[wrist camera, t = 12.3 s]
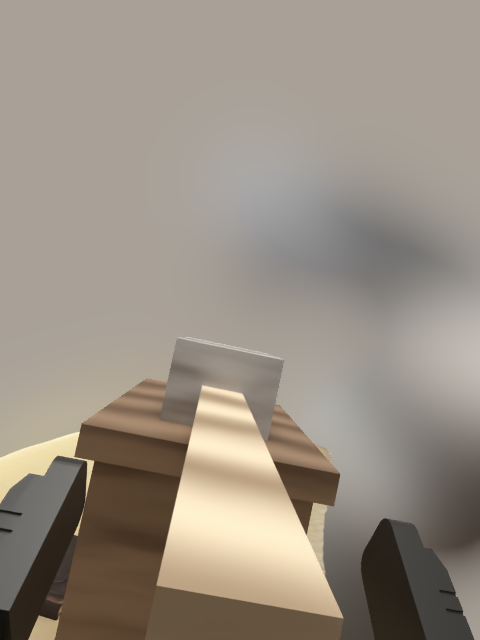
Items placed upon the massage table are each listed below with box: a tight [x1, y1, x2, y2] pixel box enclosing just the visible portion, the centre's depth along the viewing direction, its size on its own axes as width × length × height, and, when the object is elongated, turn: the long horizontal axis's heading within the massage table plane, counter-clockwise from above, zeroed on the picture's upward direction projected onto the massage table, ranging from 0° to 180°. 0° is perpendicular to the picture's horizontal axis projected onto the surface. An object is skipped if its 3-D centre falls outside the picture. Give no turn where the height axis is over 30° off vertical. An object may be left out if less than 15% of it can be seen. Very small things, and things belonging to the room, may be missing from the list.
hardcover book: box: [39, 535, 78, 620], centre depth 61 cm, size 16×23×2 cm
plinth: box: [55, 379, 340, 640], centre depth 37 cm, size 24×16×32 cm, turn 4°
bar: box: [145, 336, 344, 640], centre depth 23 cm, size 32×8×6 cm, turn 4°
